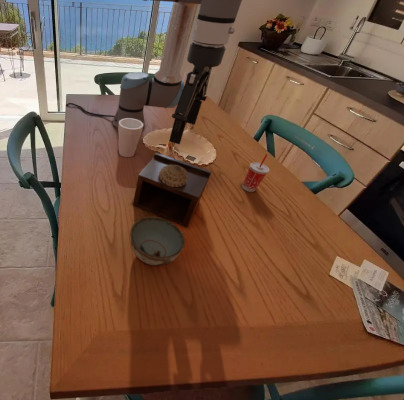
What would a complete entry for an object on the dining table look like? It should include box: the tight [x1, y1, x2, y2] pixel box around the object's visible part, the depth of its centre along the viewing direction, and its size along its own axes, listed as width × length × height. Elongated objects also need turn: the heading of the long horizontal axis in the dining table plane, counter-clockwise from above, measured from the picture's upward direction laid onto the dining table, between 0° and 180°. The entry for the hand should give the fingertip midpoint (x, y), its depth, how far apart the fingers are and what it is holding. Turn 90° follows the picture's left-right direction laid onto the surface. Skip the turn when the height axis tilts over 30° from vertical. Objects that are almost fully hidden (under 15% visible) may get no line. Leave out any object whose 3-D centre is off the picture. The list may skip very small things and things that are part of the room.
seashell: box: [159, 165, 188, 187], centre depth 78 cm, size 8×6×8 cm
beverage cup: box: [241, 153, 270, 193], centre depth 92 cm, size 6×6×14 cm
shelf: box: [132, 152, 212, 228], centre depth 83 cm, size 18×13×13 cm
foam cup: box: [117, 118, 144, 158], centre depth 106 cm, size 10×9×13 cm
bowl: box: [129, 216, 186, 267], centre depth 69 cm, size 14×13×8 cm
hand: (182, 132), depth 73 cm, fingers open, 13 cm apart
